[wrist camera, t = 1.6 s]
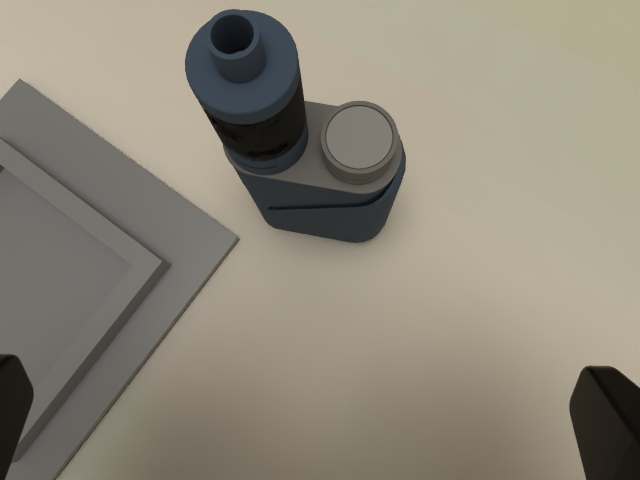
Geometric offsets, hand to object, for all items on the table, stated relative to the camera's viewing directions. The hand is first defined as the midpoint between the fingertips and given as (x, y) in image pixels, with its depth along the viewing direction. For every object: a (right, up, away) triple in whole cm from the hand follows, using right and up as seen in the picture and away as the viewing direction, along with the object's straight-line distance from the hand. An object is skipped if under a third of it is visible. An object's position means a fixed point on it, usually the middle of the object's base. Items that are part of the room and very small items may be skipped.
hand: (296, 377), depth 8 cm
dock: (-12, 0, +13) cm, 17 cm away
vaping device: (+1, +3, +13) cm, 14 cm away
